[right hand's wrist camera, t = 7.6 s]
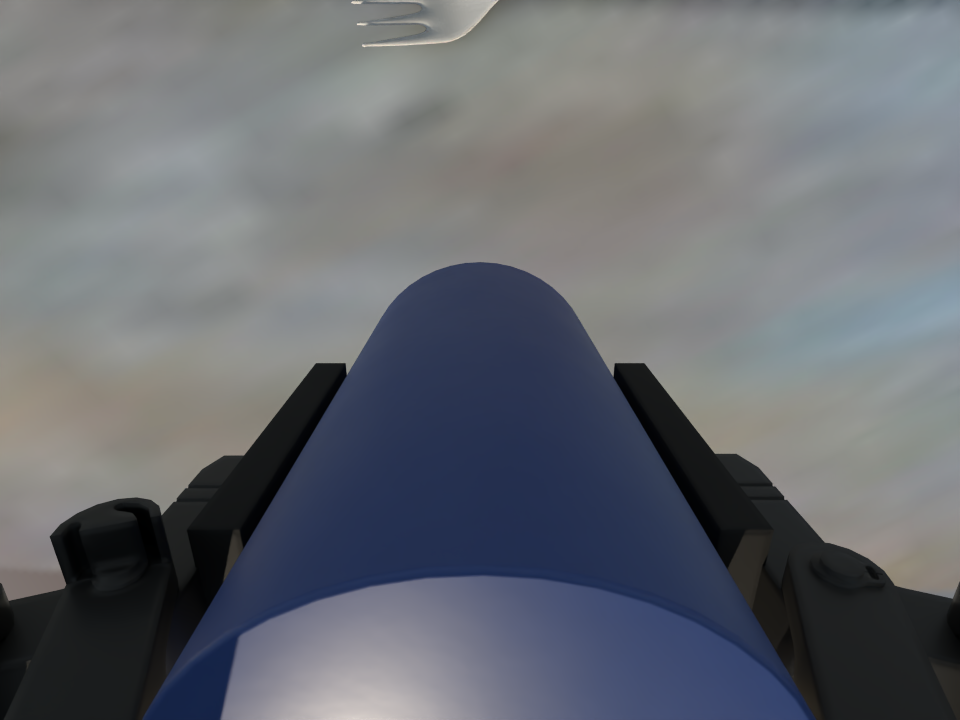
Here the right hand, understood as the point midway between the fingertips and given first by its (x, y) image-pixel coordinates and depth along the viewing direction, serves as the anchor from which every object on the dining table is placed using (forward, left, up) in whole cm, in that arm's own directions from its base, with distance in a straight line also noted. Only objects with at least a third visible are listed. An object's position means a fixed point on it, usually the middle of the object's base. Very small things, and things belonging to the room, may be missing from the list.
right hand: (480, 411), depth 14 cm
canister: (0, 0, -3) cm, 3 cm away
